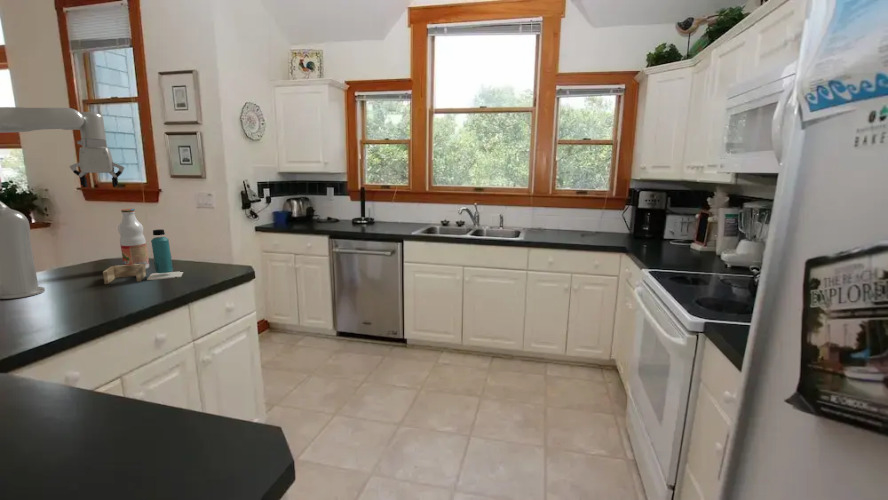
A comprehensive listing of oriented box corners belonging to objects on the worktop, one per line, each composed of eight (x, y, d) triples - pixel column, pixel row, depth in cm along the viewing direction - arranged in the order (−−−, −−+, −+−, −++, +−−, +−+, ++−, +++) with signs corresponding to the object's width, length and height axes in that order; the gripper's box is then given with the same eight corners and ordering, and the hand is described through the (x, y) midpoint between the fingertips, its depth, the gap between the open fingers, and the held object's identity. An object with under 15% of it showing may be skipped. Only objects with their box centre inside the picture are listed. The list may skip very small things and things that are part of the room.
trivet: (147, 280, 169) (146, 278, 169) (151, 274, 178) (151, 273, 178) (180, 277, 174) (180, 276, 174) (183, 272, 183) (183, 271, 183)
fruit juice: (145, 271, 185) (136, 210, 179) (121, 272, 182) (110, 210, 176) (152, 265, 193) (144, 207, 187) (129, 267, 190) (119, 208, 184)
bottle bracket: (104, 284, 162) (102, 272, 161) (112, 277, 173) (111, 266, 172) (140, 281, 167) (139, 269, 166) (146, 274, 178) (145, 263, 177)
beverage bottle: (177, 272, 179) (171, 228, 174) (166, 277, 172) (159, 231, 168) (164, 272, 179) (157, 228, 175) (151, 276, 173) (145, 230, 168)
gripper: (62, 142, 156) (69, 187, 159) (118, 144, 163) (124, 187, 166) (70, 144, 162) (76, 186, 165) (123, 146, 170) (128, 187, 173)
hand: (100, 187), depth 166 cm, fingers open, 9 cm apart
